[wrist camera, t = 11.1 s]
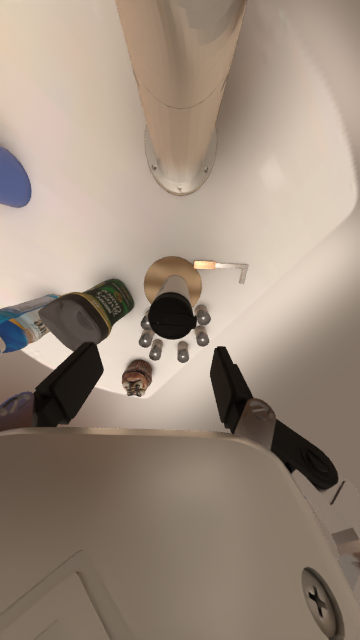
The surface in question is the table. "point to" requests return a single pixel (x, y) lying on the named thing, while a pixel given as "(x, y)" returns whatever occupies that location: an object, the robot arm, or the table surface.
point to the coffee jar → (87, 313)
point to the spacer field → (183, 355)
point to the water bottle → (13, 181)
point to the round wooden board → (169, 268)
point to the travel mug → (172, 310)
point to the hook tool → (219, 265)
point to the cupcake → (137, 378)
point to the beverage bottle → (22, 324)
